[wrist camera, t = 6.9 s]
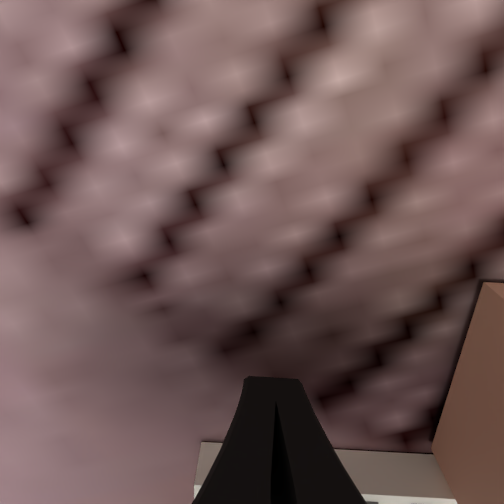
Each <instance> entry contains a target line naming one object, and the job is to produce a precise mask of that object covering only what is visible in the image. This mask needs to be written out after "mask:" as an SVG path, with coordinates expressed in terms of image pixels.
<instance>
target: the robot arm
mask: <svg viewBox="0 0 504 504" xmlns="http://www.w3.org/2000/svg"><path fill="white" fill-rule="evenodd" d="M192 504H367V503H366V501H365V500H364V498H363V496H362V495H361V493H360V492H359V490H358V489H357V487H356V485H355V484H354V482H353V481H352V479H351V478H350V476H349V474H348V473H347V471H346V469H345V468H344V466H343V464H342V463H341V461H340V459H339V457H338V456H337V454H336V452H335V450H334V449H333V447H332V445H331V443H330V441H329V440H328V438H327V436H326V434H325V432H324V430H323V429H322V427H321V425H320V423H319V421H318V419H317V417H316V415H315V413H314V411H313V408H312V406H311V404H310V402H309V400H308V397H307V395H306V393H305V390H304V388H303V385H302V383H301V382H300V381H299V380H298V379H287V378H271V377H255V376H248V377H247V378H246V379H244V384H243V389H242V394H241V397H240V401H239V404H238V407H237V410H236V413H235V415H234V418H233V421H232V423H231V425H230V428H229V430H228V432H227V435H226V437H225V440H224V442H223V444H222V446H221V449H220V451H219V453H218V455H217V457H216V459H215V461H214V463H213V465H212V467H211V469H210V471H209V473H208V475H207V477H206V479H205V481H204V483H203V484H202V486H201V488H200V490H199V492H198V494H197V495H196V497H195V499H194V501H193V502H192Z"/></svg>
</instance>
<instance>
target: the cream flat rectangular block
mask: <svg viewBox="0 0 504 504" xmlns="http://www.w3.org/2000/svg"><path fill="white" fill-rule="evenodd" d="M222 444H223V443H212V442H201V447H200V453H199V459H198V464H197V470H196V476H195V482H194V499H195V497H196V495H197V494H198V492H199V490H200V488H201V486H202V484H203V483H204V481H205V479H206V477H207V475H208V473H209V471H210V469H211V467H212V465H213V463H214V461H215V459H216V457H217V455H218V453H219V451H220V449H221V446H222ZM334 450H335V452H336V454H337V456H338V457H339V459H340V461H341V463H342V464H343V466H344V468H345V469H346V471H347V473H348V474H349V476H350V478H351V479H352V481H353V482H354V484H355V485H356V487H357V489H358V490H359V492H360V493H361V495H362V496H363V498H364V500H365V501H366V503H367V504H457V502H456V500H455V498H454V496H453V493H452V491H451V489H450V487H449V485H448V483H447V481H446V479H445V477H444V475H443V473H442V471H441V469H440V467H439V464H438V462H437V460H436V458H435V456H434V455H432V454H413V453H395V452H377V451H358V450H340V449H334Z"/></svg>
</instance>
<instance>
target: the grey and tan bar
mask: <svg viewBox="0 0 504 504" xmlns="http://www.w3.org/2000/svg"><path fill="white" fill-rule="evenodd" d="M431 450H432V452H433V454H434V456H435V458H436V460H437V462H438V464H439V467H440V469H441V471H442V473H443V475H444V477H445V479H446V481H447V483H448V485H449V487H450V489H451V491H452V493H453V496H454V498H455V500H456V502H457V504H504V283H491V282H483V285H482V289H481V292H480V295H479V298H478V301H477V304H476V307H475V311H474V314H473V317H472V320H471V323H470V326H469V330H468V333H467V336H466V339H465V342H464V345H463V348H462V352H461V355H460V358H459V361H458V364H457V367H456V370H455V374H454V377H453V380H452V383H451V386H450V389H449V393H448V396H447V399H446V402H445V405H444V408H443V411H442V415H441V418H440V421H439V424H438V427H437V430H436V434H435V437H434V440H433V443H432V446H431Z"/></svg>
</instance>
